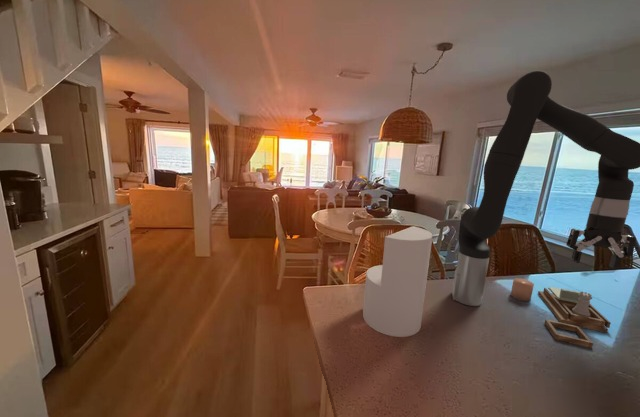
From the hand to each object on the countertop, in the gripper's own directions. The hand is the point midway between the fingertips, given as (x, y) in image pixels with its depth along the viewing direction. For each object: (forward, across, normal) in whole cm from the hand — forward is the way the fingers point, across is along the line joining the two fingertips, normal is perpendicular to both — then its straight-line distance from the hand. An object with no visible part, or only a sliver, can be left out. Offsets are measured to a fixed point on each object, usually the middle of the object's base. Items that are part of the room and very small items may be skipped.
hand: (593, 264), depth 81 cm
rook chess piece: (+18, 0, 0) cm, 18 cm away
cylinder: (+20, +55, +27) cm, 65 cm away
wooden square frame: (+19, +7, +12) cm, 23 cm away
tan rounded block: (+19, +13, -9) cm, 25 cm away
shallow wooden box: (+19, 0, -5) cm, 20 cm away
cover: (+15, 0, -10) cm, 18 cm away
